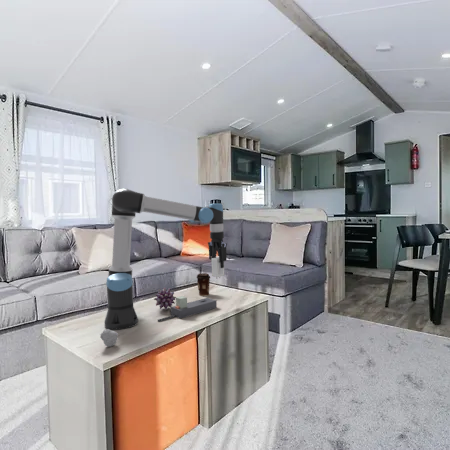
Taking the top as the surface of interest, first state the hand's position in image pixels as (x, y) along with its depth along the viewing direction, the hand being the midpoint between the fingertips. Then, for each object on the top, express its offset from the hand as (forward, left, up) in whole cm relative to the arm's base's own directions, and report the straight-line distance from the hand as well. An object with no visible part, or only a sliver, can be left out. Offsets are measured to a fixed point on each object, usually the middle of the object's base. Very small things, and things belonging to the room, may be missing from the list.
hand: (218, 273), depth 189 cm
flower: (-26, +14, -18) cm, 35 cm away
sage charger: (-25, 0, -14) cm, 29 cm away
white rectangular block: (0, 0, -3) cm, 3 cm away
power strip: (-22, 0, -18) cm, 28 cm away
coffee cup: (+7, +22, -18) cm, 29 cm away
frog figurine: (-68, -11, -18) cm, 71 cm away
